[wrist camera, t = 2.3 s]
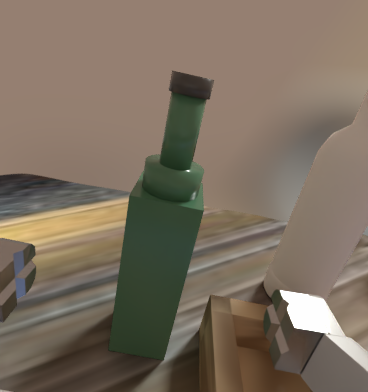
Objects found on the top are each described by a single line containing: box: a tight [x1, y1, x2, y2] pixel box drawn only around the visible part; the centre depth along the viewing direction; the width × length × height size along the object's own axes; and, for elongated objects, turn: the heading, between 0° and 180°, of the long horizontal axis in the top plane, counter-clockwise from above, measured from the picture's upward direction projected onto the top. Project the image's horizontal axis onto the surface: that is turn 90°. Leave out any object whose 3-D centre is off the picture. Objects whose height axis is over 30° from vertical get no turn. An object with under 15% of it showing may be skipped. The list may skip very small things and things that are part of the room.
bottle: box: [264, 90, 368, 302], centre depth 31 cm, size 8×8×30 cm
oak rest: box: [199, 295, 313, 392], centre depth 23 cm, size 12×11×5 cm
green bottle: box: [108, 71, 214, 360], centre depth 23 cm, size 5×5×24 cm
